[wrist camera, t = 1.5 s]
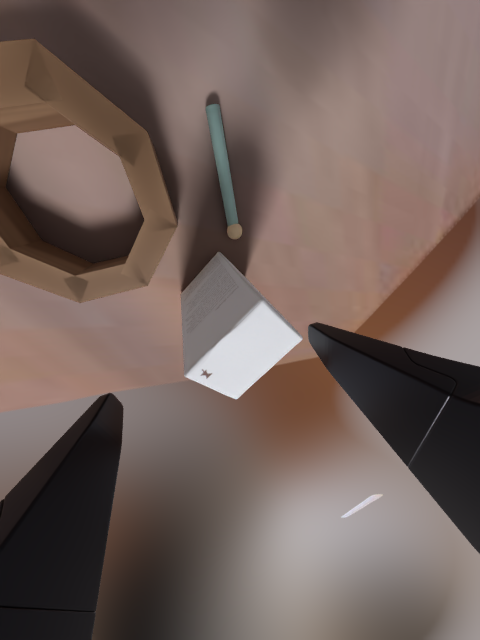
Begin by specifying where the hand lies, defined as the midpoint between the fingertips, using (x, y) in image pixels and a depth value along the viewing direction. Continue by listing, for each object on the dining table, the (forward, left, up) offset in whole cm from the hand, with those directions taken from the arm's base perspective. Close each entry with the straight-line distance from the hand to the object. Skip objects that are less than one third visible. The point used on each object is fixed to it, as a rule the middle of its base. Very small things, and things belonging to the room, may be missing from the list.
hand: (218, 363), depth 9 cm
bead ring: (+6, -7, -13) cm, 17 cm away
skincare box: (-2, +2, -14) cm, 14 cm away
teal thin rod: (-5, -7, -13) cm, 16 cm away
